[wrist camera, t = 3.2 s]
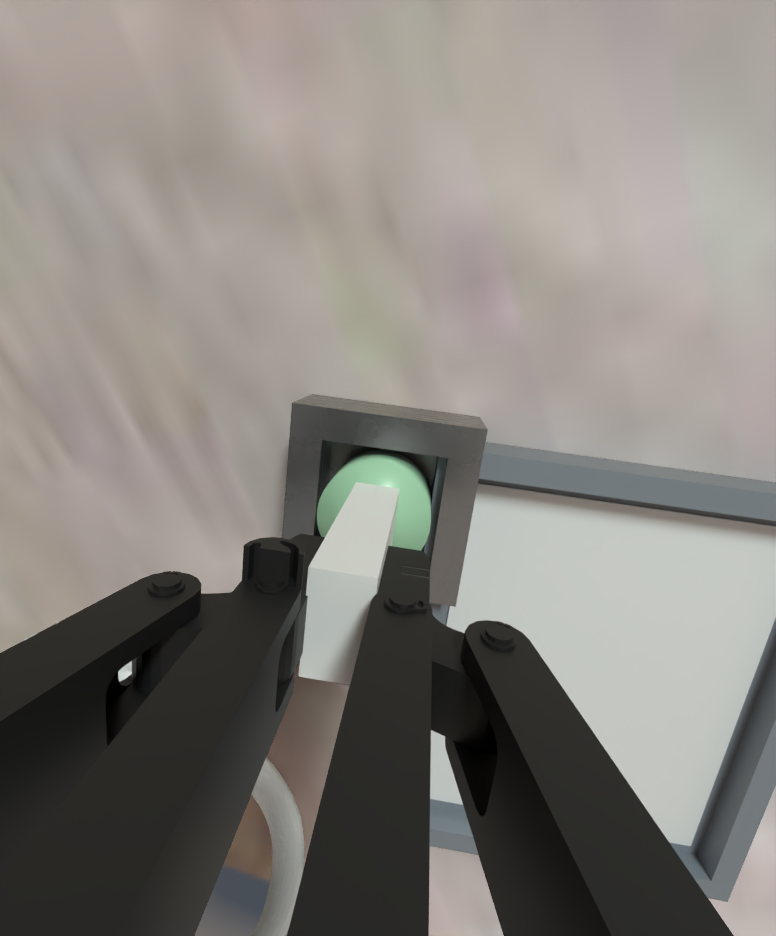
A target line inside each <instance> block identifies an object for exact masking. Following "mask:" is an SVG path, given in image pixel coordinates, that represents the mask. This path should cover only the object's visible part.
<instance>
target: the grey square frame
mask: <svg viewBox="0 0 776 936" xmlns="http://www.w3.org/2000/svg"><path fill="white" fill-rule="evenodd" d="M486 435H487V428H486V427H485V425H484V423H483V422H482V420H481V419H480V417H474V416H467V415H459V414H452V413H445V412H437V411H430V410H423V409H415V408H408V407H401V406H393V405H386V404H379V403H371V402H364V401H357V400H349V399H342V398H335V397H327V396H320V395H313V394H312V395H310V396H307V397H305V398H303V399H300V400H298V401H295V402H293V403H292V412H291V425H290V439H289V453H288V466H287V480H286V494H285V507H284V521H283V534H282V538H285V539H291V538H293V537H295V536H297V535H299V534H307V535H313V536H320V537H321V535H320V532H319V529H318V524H317V509H318V504H319V500H320V497H321V495H322V493H323V491H324V490H325V488H326V487H327V485H328V484H329V482H330V481H331V480H332V478H333V477H334V476H335V474H336V473H337V472H338V470H339V469H340V468H341V467H342V466H343V465H344V464H345V463H346V462H347V461H348V460H349V459H351V458H352V457H354V456H356V455H358V454H360V453H363V452H367V451H372V450H386V451H391V452H395V453H398V454H400V455H402V456H404V457H406V458H408V459H409V460H411V461H412V462H413V463H414V464H415V465H417V467H418V468H419V469H420V470H421V471H422V473H423V474H424V476H425V478H426V480H427V482H428V485H429V488H430V493H431V495H432V489H433V482H434V476H435V469H436V463H437V456H438V457H445V458H447V459H446V465H445V472H444V478H443V484H442V490H441V497H440V503H439V509H438V515H437V522H436V528H435V534H434V540H433V547H432V553H431V559H430V596H429V603H435V604H441V605H447V606H454V607H456V603H457V597H458V591H459V586H460V580H461V575H462V569H463V563H464V558H465V552H466V547H467V541H468V536H469V530H470V524H471V519H472V513H473V508H474V502H475V497H476V491H477V485H478V480H479V474H480V469H481V463H482V458H483V452H484V446H485V441H486ZM421 551H423V548H422V550H421Z"/></svg>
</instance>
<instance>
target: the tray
mask: <svg viewBox="0 0 776 936" xmlns="http://www.w3.org/2000/svg"><path fill="white" fill-rule="evenodd" d="M446 459H447V458H445V457H438V456H437V463H436V469H435V476H434V482H433V489H432V495H431V524H430V531H429V536H428V538H427V541H426V543H425V545H424V547H423V552H424V553H425V554H426V555H427V557H428V558H429V559H431V553H432V547H433V540H434V534H435V528H436V522H437V515H438V509H439V503H440V497H441V490H442V484H443V478H444V472H445V465H446ZM430 605H431V608H432V614H433V616H434V617H435V618H436V619H437V620H438V621H439V622H441V623H442V624H444V625H446V626H448V627H450V628H452V629H454V630H457V631H460V632H462V633H465V630H466V629H467V627H468V625H470V624H472V623H474V622H476V621H484V620H489V621H499V622H503V623H504V624H505V623H506V624H508V625H511V626H512V627H514V628H516V629H517V630H519V631H521V632H522V633H523V634H524V635H525V636H526V637H527V638H528V639H529V640H530V641H531V643H532V644H533V646H534V647H535V649H536V650H537V651H538V653H539V654H540V656H541V657H542V659H543V660H544V662H545V663H546V664H547V666H548V667H549V669H550V670H551V672H552V673H553V675H554V676H555V678H556V679H557V680H558V682H559V683H560V685H561V686H562V688H563V689H564V691H565V692H566V693H567V695H568V696H569V698H570V699H571V701H572V702H573V704H574V705H575V707H576V708H577V709H578V711H579V712H580V714H581V715H582V717H583V718H584V720H585V721H586V722H587V724H588V725H589V727H590V728H591V730H592V731H593V733H594V734H595V736H596V737H597V738H598V740H599V741H600V743H601V744H602V746H603V747H604V749H605V750H606V751H607V753H608V754H609V756H610V757H611V759H612V760H613V762H614V763H615V765H616V766H617V767H618V769H619V770H620V772H621V773H622V775H623V776H624V778H625V779H626V780H627V782H628V783H629V785H630V786H631V788H632V789H633V791H634V792H635V794H636V795H637V796H638V798H639V799H640V801H641V802H642V804H643V805H644V807H645V808H646V809H647V811H648V812H649V814H650V815H651V817H652V818H653V820H654V821H655V823H656V824H657V825H658V827H659V828H660V830H661V831H662V833H663V834H664V836H665V837H666V838H667V840H668V841H669V843H670V844H671V846H672V847H673V849H674V850H675V852H676V853H677V854H678V856H679V857H680V859H681V860H682V862H683V863H684V865H685V866H686V867H687V869H688V870H689V872H690V873H691V875H692V876H693V878H694V879H695V881H696V882H697V883H698V885H699V886H700V888H701V889H702V891H703V892H704V894H705V895H706V896H707V898H710V899H716V900H721V901H726V902H728V899H729V897H730V894H731V892H732V890H733V887H734V885H735V882H736V880H737V877H738V875H739V873H740V870H741V868H742V865H743V863H744V861H745V858H746V856H747V853H748V851H749V848H750V846H751V844H752V841H753V839H754V836H755V834H756V831H757V829H758V827H759V824H760V822H761V819H762V817H763V815H764V812H765V810H766V807H767V805H768V802H769V800H770V798H771V795H772V793H773V790H774V788H775V786H776V483H773V482H766V481H759V480H752V479H745V478H737V477H730V476H723V475H716V474H709V473H701V472H694V471H687V470H680V469H673V468H666V467H658V466H651V465H644V464H637V463H630V462H623V461H615V460H608V459H601V458H594V457H587V456H579V455H572V454H565V453H558V452H551V451H544V450H536V449H529V448H522V447H515V446H508V445H501V444H493V443H486V442H485V446H484V452H483V458H482V463H481V469H480V474H479V480H478V485H477V491H476V497H475V502H474V508H473V513H472V519H471V524H470V530H469V536H468V541H467V547H466V552H465V558H464V563H463V569H462V575H461V580H460V586H459V591H458V597H457V603H456V607H454V606H447V605H441V604H435V603H430ZM429 846H433V847H439V848H444V849H449V850H455V851H460V852H465V853H471V854H476V855H479V854H478V851H477V848H476V845H475V841H474V838H473V835H472V832H471V828H470V825H469V822H468V819H467V816H466V812H465V809H464V806H463V803H462V800H461V796H460V793H459V790H458V787H457V784H456V780H455V777H454V774H453V771H452V767H451V764H450V761H449V758H448V755H447V751H446V747H445V736H443V735H441V734H439V733H436V732H434V731H432V730H431V765H430V845H429Z"/></svg>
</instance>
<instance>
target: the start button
mask: <svg viewBox="0 0 776 936" xmlns="http://www.w3.org/2000/svg"><path fill="white" fill-rule="evenodd" d="M356 482H359V483H366V484H373V485H380V486H387V487H393V488H400V490H399V497H398V505H397V512H396V519H395V527H394V534H393V541H392V546H394V547H400V548H407V549H413V550H420V551H421V550H422V548H423V547H424V545H425V543H426V541H427V538H428V536H429V531H430V524H431V493H430V488H429V485H428V482H427V480H426V478H425V476H424V474H423V473H422V471H421V470H420V469H419V468H418V467H417V465H415V464H414V463H413V462H412V461H411V460H409V459H408V458H406V457H404V456H402V455H400V454H398V453H395V452H391V451H386V450H372V451H367V452H363V453H360V454H358V455H356V456H354V457H352V458H351V459H349V460H348V461H347V462H346V463H345V464H344V465H343V466H342V467H341V468H340V469H339V470H338V472H337V473H336V474H335V476H334V477H333V478H332V480H331V481H330V482H329V484H328V485H327V487H326V488H325V490H324V491H323V493H322V495H321V497H320V500H319V504H318V509H317V524H318V529H319V532H320V535H321V537H326V535H327V533H328V531H329V530H330V528H331V526H332V524H333V523H334V521H335V519H336V517H337V516H338V514H339V512H340V510H341V508H342V507H343V505H344V503H345V501H346V500H347V498H348V496H349V494H350V493H351V491H352V489H353V487H354V485H355V484H356Z"/></svg>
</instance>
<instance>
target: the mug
mask: <svg viewBox="0 0 776 936" xmlns="http://www.w3.org/2000/svg"><path fill="white" fill-rule="evenodd" d="M57 623H59V622H57ZM57 623H56V624H57ZM54 625H55V624H54ZM37 634H38V633H37ZM34 635H36V634H34ZM34 635H32V636H34ZM32 636H30V637H32ZM30 637H29V638H30ZM26 639H28V638H26ZM26 639H25V640H26ZM131 674H132V661H131V662H129V663H128V664H127V665H125V666H124V667H122V668H121V669H120V670H119V671H118V679H119V682H120V681H122V680H124V679H126V678H127V677H128V676H130V675H131ZM251 795H252V796H253V798H254V799H255V800H256V802H257V803H258V805H259V806H260V808H261V810H262V812H263V814H264V816H265V818H266V821H267V824H268V827H269V831H270V836H271V842H272V870H271V879H270V884H269V890H268V894H267V898H266V902H265V906H264V909H263V911H262V914H261V917H260V919H259V921H258V924H257V926H256V928H255V931H254V933H253V935H252V936H286V934H287V931H288V928H289V926H290V922H291V918H292V914H293V910H294V906H295V902H296V898H297V894H298V890H299V886H300V882H301V878H302V874H303V866H304V834H303V826H302V820H301V815H300V812H299V809H298V807H297V804H296V801H295V799H294V797H293V795H292V793H291V791H290V789H289V787H288V785H287V784H286V782H285V780H284V779H283V777H282V776H281V775H280V773H279V772H278V771H277V769H276V768H275V766H274V765H273V764H272V763H271V762H270V760H269V759H268V758H267V757H266V759H265V761H264V764H263V766H262V769H261V771H260V774H259V776H258V779H257V781H256V784H255V786H254V789H253V791H252V794H251Z"/></svg>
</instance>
